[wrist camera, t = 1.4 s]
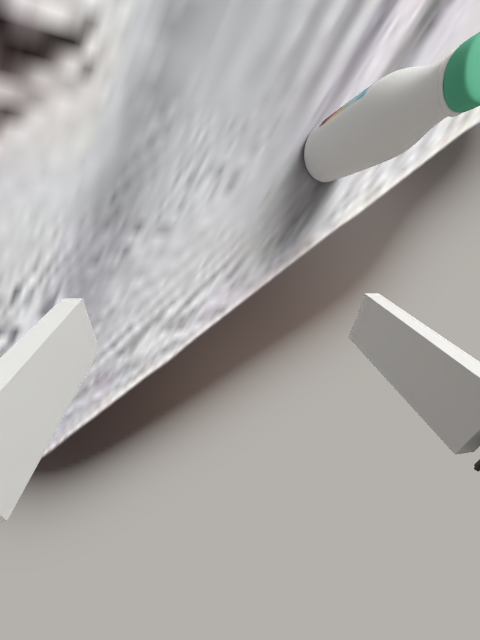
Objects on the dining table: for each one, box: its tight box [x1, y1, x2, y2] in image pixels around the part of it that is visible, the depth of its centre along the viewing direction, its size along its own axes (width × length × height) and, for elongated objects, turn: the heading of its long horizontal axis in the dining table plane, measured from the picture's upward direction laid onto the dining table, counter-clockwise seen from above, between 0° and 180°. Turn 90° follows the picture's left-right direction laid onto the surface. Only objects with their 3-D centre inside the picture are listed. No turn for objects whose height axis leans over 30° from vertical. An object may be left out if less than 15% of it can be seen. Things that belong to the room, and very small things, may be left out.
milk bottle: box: [304, 32, 480, 182], centre depth 27 cm, size 8×8×20 cm
